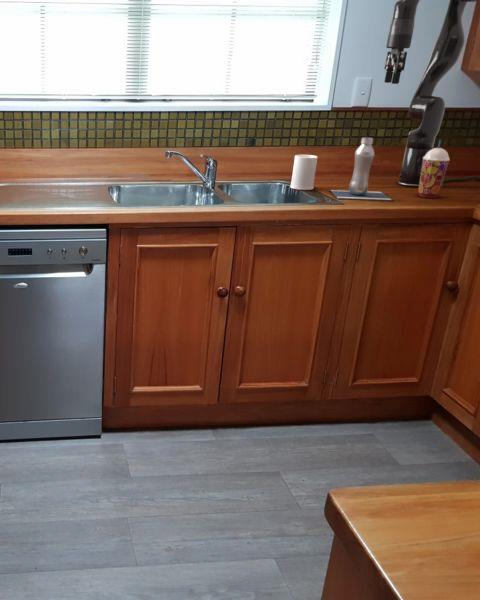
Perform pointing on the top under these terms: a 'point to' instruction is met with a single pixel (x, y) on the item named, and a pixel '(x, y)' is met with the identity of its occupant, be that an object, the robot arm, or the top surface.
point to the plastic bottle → (362, 167)
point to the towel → (367, 196)
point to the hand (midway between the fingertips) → (391, 83)
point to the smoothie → (433, 172)
